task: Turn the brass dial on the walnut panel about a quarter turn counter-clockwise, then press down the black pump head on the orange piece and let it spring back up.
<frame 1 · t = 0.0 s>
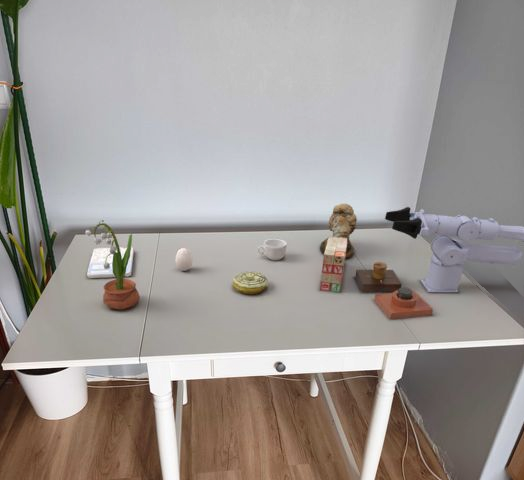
hand: (389, 220, 145), 22 cm above the table, tool horizontal, fingers open, 7 cm apart
egg: (184, 270, 162), on the table
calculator: (111, 264, 164), on the table
orange piece: (402, 307, 146), on the table
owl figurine: (336, 250, 179), on the table
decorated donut: (250, 288, 153), on the table
teacup: (271, 258, 172), on the table
potted flower: (119, 304, 142), on the table
dial panel: (376, 285, 157), on the table
dial: (379, 270, 154), point 5 cm above the table, hinge at 0.0°
stack of blocks: (332, 276, 162), on the table
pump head: (405, 293, 143), point 5 cm above the table, slide at 0.1 cm
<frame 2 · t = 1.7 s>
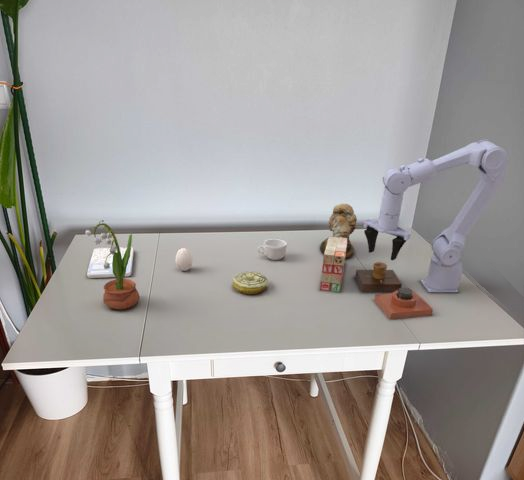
hand: (382, 255, 152), 10 cm above the table, tool pointing down, fingers open, 7 cm apart
nothing on the table moved.
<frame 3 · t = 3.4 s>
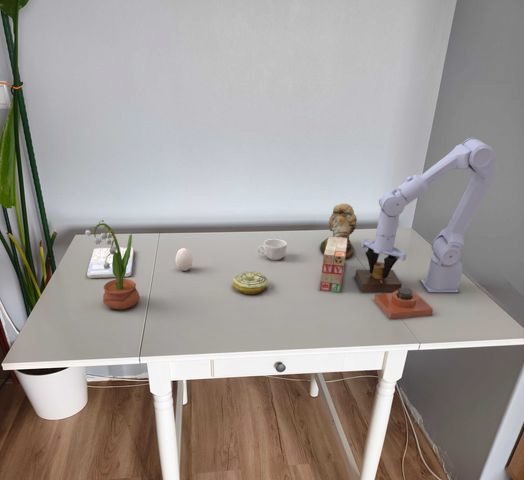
hand: (378, 274, 155), 4 cm above the table, tool pointing down, fingers closed on dial, 4 cm apart
dial: (379, 270, 154), point 5 cm above the table, hinge at 0.0°, touching gripper
everything else where it was.
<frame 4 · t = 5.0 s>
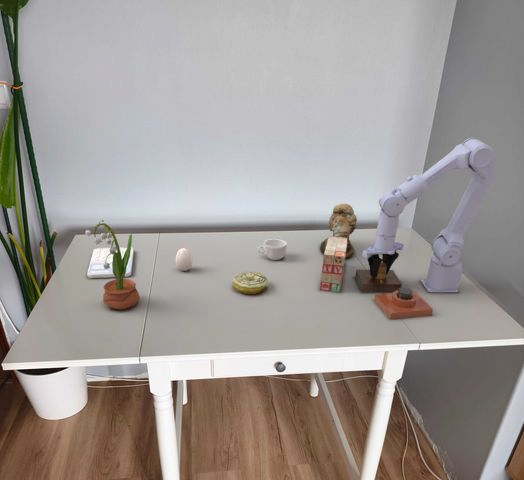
hand: (378, 274, 155), 4 cm above the table, tool pointing down, fingers closed on dial, 4 cm apart
dial: (379, 270, 154), point 5 cm above the table, hinge at 71.7°, touching gripper
everything else where it was.
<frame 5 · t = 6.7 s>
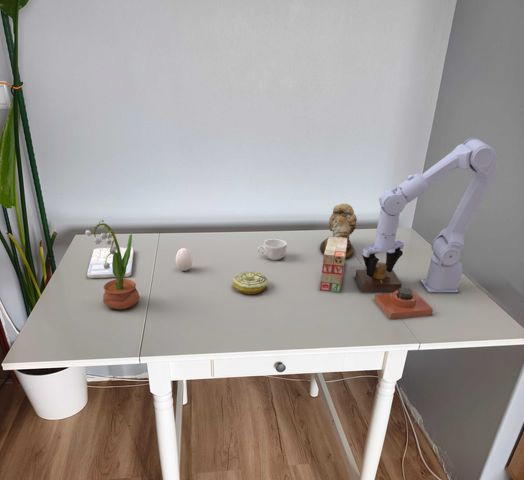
hand: (379, 273, 155), 4 cm above the table, tool pointing down, fingers open, 7 cm apart
dial: (379, 270, 154), point 5 cm above the table, hinge at 71.6°
everything else where it was.
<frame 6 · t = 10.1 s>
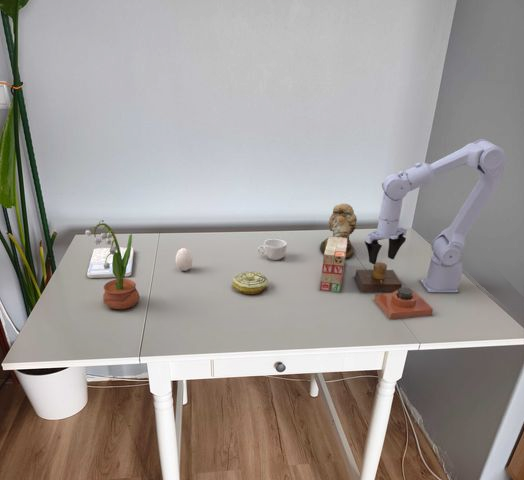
hand: (381, 260, 152), 9 cm above the table, tool pointing down, fingers open, 7 cm apart
nothing on the table moved.
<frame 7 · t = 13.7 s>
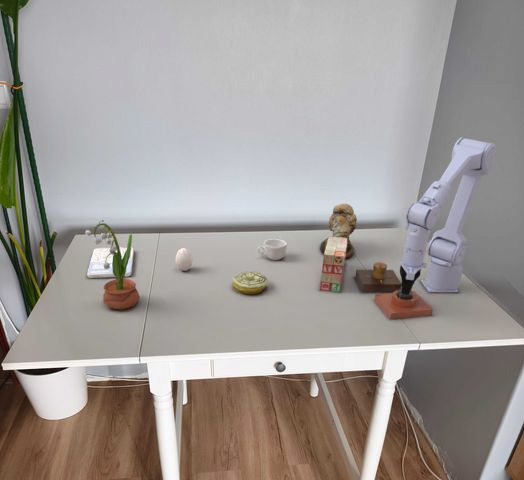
hand: (405, 291, 143), 5 cm above the table, tool pointing down, fingers closed, pressing on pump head
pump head: (404, 294, 143), point 4 cm above the table, slide at -0.2 cm, touching gripper
everything else where it was.
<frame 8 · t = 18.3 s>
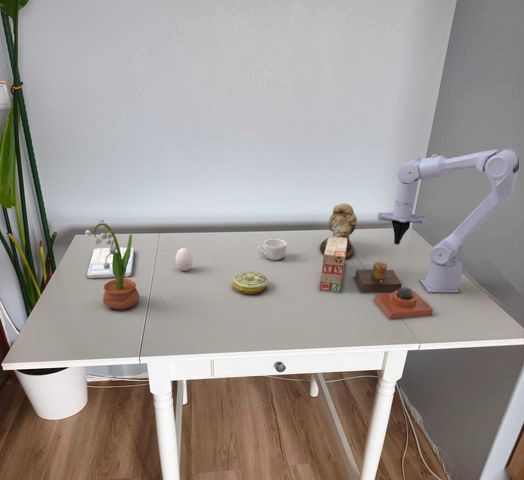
hand: (396, 243, 160), 10 cm above the table, tool pointing down, fingers closed
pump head: (405, 293, 143), point 5 cm above the table, slide at 0.1 cm
everything else where it was.
at the end: dial at +72° (first picture: +0°); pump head pushed in 1.4 cm at the most during the clip, back to where it started at the end; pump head slide at 0.1 cm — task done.
